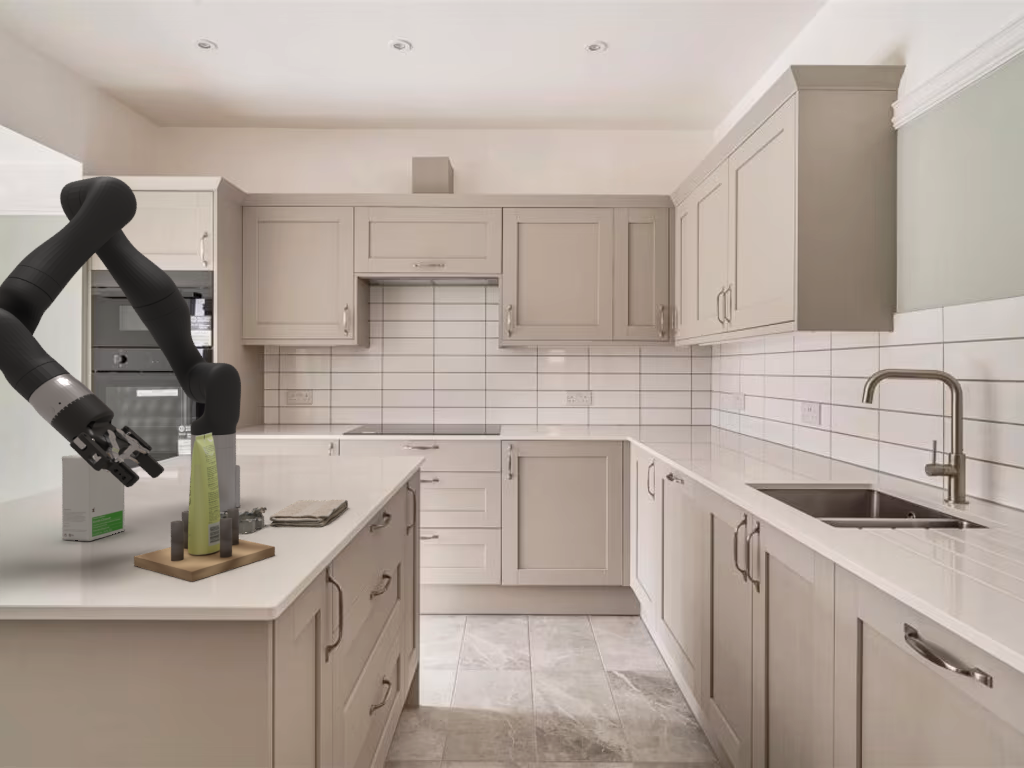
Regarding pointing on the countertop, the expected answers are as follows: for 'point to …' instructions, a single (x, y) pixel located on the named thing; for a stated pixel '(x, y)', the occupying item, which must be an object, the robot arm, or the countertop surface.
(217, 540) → the tube
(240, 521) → the egg carton
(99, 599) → the countertop surface
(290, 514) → the washcloth
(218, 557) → the cradle
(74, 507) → the skincare box
